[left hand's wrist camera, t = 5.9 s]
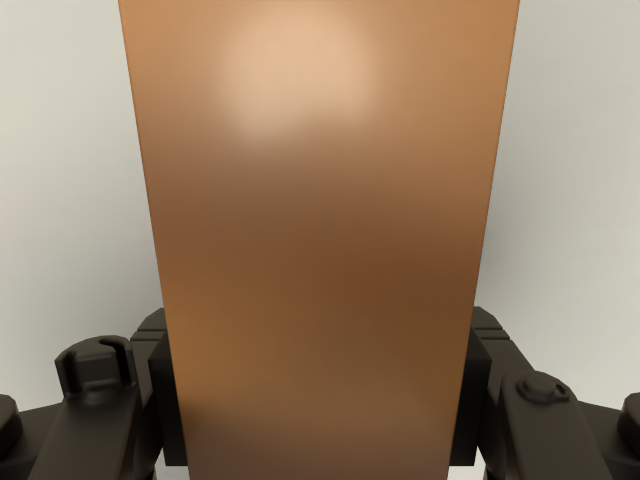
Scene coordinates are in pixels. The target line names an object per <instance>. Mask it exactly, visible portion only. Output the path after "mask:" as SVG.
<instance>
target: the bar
mask: <svg viewBox="0 0 640 480" xmlns="http://www.w3.org/2000/svg"><path fill="white" fill-rule="evenodd" d="M519 3H520V0H118V4H119V11H120V17H121V24H122V31H123V37H124V44H125V51H126V57H127V64H128V70H129V77H130V84H131V90H132V97H133V104H134V110H135V117H136V124H137V130H138V137H139V144H140V150H141V157H142V164H143V170H144V177H145V184H146V190H147V197H148V204H149V210H150V217H151V224H152V230H153V237H154V244H155V250H156V257H157V263H158V270H159V277H160V283H161V290H162V297H163V303H164V310H165V317H166V323H167V330H168V337H169V343H170V350H171V357H172V363H173V370H174V377H175V383H176V390H177V397H178V403H179V410H180V417H181V423H182V430H183V436H184V443H185V450H186V456H187V463H188V470H189V476H190V480H447V477H448V471H449V464H450V457H451V451H452V444H453V438H454V431H455V425H456V418H457V411H458V405H459V398H460V392H461V385H462V379H463V372H464V365H465V359H466V352H467V346H468V339H469V332H470V326H471V319H472V313H473V306H474V300H475V293H476V286H477V280H478V273H479V267H480V260H481V254H482V247H483V240H484V234H485V227H486V221H487V214H488V207H489V201H490V194H491V188H492V181H493V175H494V168H495V161H496V155H497V148H498V142H499V135H500V128H501V122H502V115H503V109H504V102H505V96H506V89H507V82H508V76H509V69H510V63H511V56H512V50H513V43H514V36H515V30H516V23H517V17H518V10H519Z"/></svg>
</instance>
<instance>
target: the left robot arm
mask: <svg viewBox="0 0 640 480" xmlns="http://www.w3.org/2000/svg"><path fill="white" fill-rule="evenodd" d="M54 362H55V365H56V369H57V373H58V376H59V380H60V384H61V388H62V391H63V395H64V399H63V401H62V402H61V403H58V404H54V405H50V406H46V407H41V408H36V409H32V410H27V411H23V412H19V411H18V408H17V405H16V402H15V400H14V399H12V398H11V397H10V396H9V395H2V394H0V480H157V477H156V471H155V466H154V465H155V463H156V461H157V458H158V456H159V454H160V451H161V449H162V447H163V452H164V458H165V464H166V466H188V463H187V456H186V450H185V443H184V436H183V430H182V423H181V417H180V410H179V403H178V397H177V390H176V383H175V377H174V370H173V363H172V357H171V350H170V343H169V337H168V330H167V323H166V317H165V310H164V308H160V309H158V310H157V311H155V312H154V313H152V314H151V315H149V316H148V317H146V318H145V320H144V321H143V322H142V324H141V325H140V326H139V328H138V329H137V332H135V333H134V334H133V336H132V337H131V338H130V341H129V340H128V339H126V338H125V337H120V336H116V335H109V336H99V337H94V338H90V339H86V340H84V341H81V342H79V343H76V344H74V345H72V346H71V347H69V348H68V349H66V350H64V351H63V352H62V353H61V354H60V355H59V356H58V357H57V358H56V359H55V361H54ZM477 445H478V448H479V450H480V452H481V455H482V457H483V459H484V461H485V464H486V466H485V471H484V476H483V480H640V392H639V393H632V394H630V395H629V396H628V397H627V398H625V401H624V404H623V407H622V410H617V409H612V408H607V407H603V406H598V405H594V404H589V403H585V402H582V401H578V400H577V398H576V396H575V395H574V393H573V392H572V391H571V389H570V388H569V387H568V386H567V385H565V384H564V383H563V382H561V381H560V380H559V379H557V378H555V377H552V376H550V375H548V374H546V373H543V372H539V371H535V370H534V369H533V367H532V366H531V365H530V363H529V362H528V361H527V359H526V358H525V357H524V356H523V354H522V353H521V352H520V350H519V349H518V348H517V346H516V345H515V344H514V342H513V341H512V340H510V337H509V336H508V334H507V333H506V332H505V330H503V328H502V326H501V325H500V324H499V322H498V321H497V320H496V318H495V317H494V316H493V315H491V314H490V313H488V312H487V311H485V310H484V309H482V308H481V307H473V313H472V319H471V326H470V332H469V339H468V346H467V352H466V359H465V365H464V372H463V379H462V385H461V392H460V398H459V405H458V411H457V418H456V425H455V431H454V438H453V444H452V451H451V457H450V464H449V466H474V462H475V457H476V451H477Z"/></svg>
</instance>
